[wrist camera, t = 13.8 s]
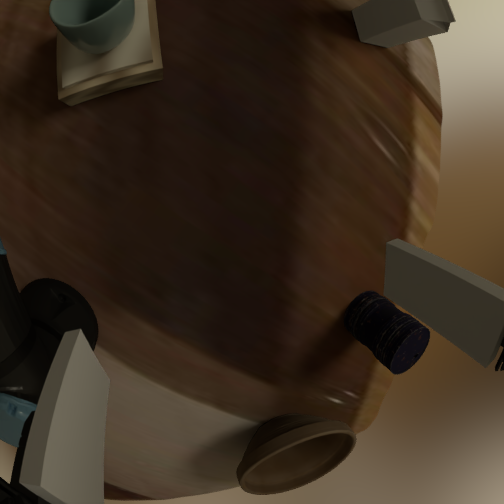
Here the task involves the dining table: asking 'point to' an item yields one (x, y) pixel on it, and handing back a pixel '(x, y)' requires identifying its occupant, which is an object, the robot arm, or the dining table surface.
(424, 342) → the storage jar
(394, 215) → the dining table surface
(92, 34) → the cup
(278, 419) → the flower pot
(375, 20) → the milk carton
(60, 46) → the pedestal
